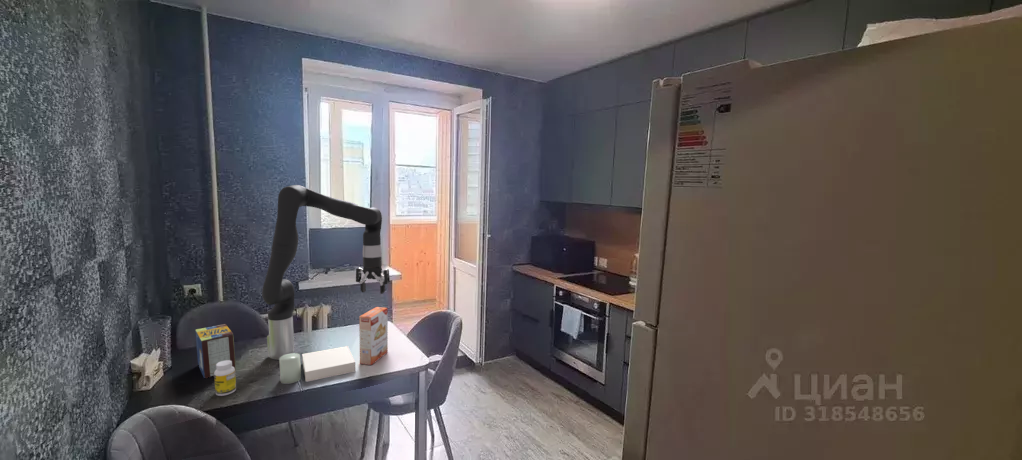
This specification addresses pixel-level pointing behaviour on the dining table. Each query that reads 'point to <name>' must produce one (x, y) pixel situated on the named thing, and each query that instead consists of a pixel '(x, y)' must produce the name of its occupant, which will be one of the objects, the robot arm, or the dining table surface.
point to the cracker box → (373, 335)
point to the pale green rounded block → (290, 368)
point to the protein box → (214, 348)
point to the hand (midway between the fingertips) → (373, 292)
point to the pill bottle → (224, 378)
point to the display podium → (328, 363)
